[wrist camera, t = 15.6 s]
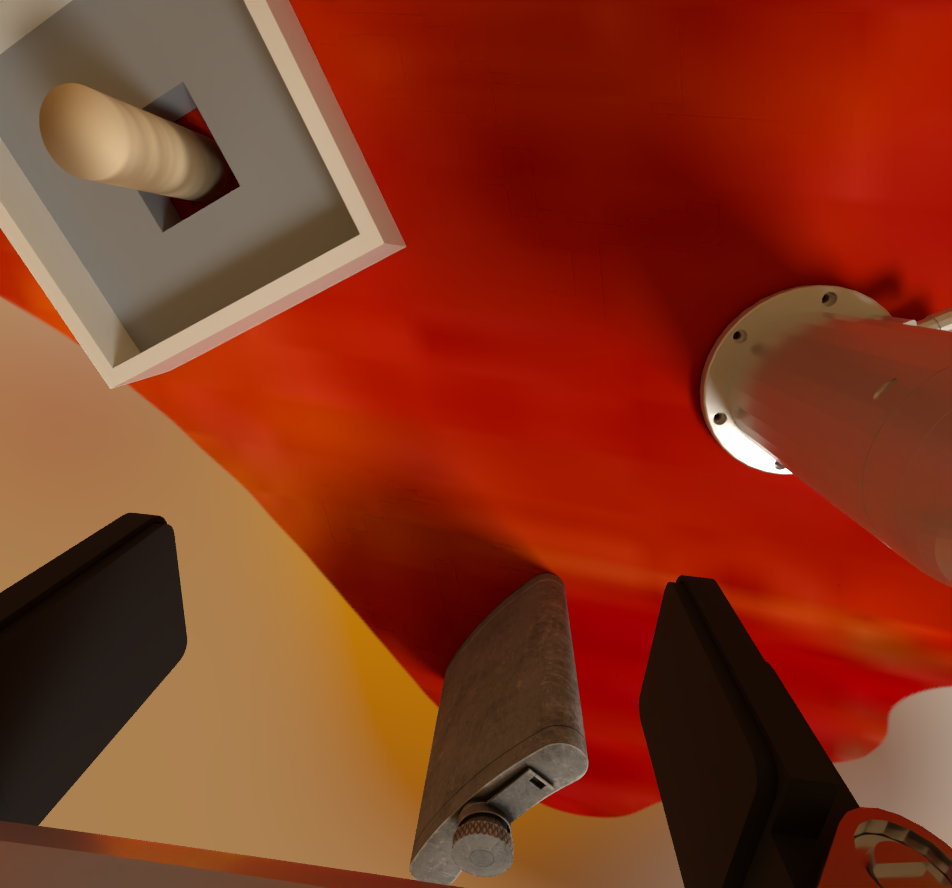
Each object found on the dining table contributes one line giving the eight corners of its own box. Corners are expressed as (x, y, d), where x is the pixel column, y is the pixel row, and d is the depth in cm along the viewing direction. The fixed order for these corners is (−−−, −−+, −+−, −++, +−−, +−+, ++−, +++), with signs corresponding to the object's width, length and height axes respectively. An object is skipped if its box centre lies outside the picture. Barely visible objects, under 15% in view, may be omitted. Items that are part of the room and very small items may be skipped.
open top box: (242, -98, 29) (175, -184, 24) (406, 246, 35) (384, 243, 29) (-11, 88, 34) (-119, 53, 28) (170, 370, 39) (110, 389, 33)
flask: (431, 670, 46) (379, 908, 29) (536, 560, 42) (547, 766, 25) (465, 692, 46) (432, 940, 29) (572, 586, 42) (606, 805, 25)
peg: (209, 122, 33) (86, 65, 24) (243, 185, 34) (138, 154, 25) (160, 153, 34) (21, 110, 25) (194, 214, 35) (75, 195, 26)
